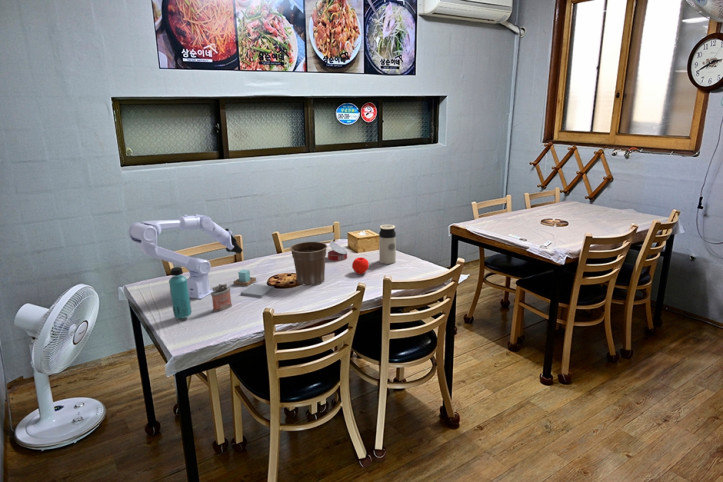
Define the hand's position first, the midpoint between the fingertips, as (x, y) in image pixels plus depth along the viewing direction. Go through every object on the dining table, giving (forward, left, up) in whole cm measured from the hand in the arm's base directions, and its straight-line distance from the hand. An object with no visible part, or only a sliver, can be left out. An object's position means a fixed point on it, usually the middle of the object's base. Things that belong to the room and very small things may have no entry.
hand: (237, 246), depth 215 cm
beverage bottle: (-42, -3, -15) cm, 45 cm away
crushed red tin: (-30, -12, -15) cm, 36 cm away
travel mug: (+42, -57, -15) cm, 72 cm away
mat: (-11, -16, -15) cm, 25 cm away
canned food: (+40, -31, -15) cm, 53 cm away
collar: (-4, -5, -15) cm, 16 cm away
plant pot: (+7, -32, -15) cm, 36 cm away
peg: (-4, -5, -15) cm, 16 cm away
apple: (+23, -50, -15) cm, 57 cm away
